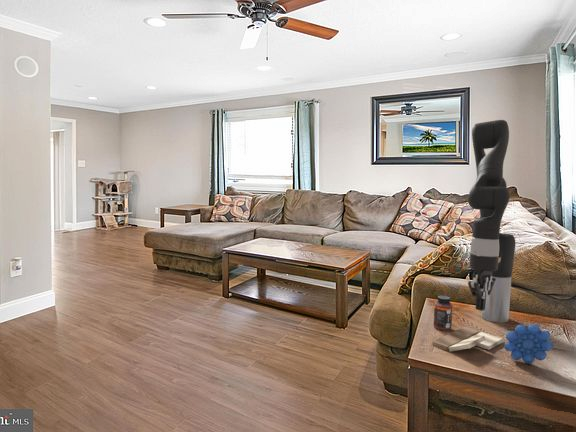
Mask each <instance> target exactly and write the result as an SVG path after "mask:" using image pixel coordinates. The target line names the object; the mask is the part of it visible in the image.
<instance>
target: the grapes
mask: <svg viewBox="0 0 576 432" xmlns="http://www.w3.org/2000/svg"><path fill="white" fill-rule="evenodd" d="M551 336H552V335H551V333H550V332H549V331H548V330H541V327H540V326H539V324H536V323H535V324H534V323H533V324H529V325H528V327H527V326H526V325H525V324H518V325H516V326H515V328H514V331H509V332H508V331H507V333H506V335H505V339H506V340H507V342H505V344H504V346H503V347H504V349H505V350H506V352H510V358H511V359H512V360H514V361H520V360H522V361H523V363H525V364H527V365H528V364H533V363H534V362H535V359H536V360H537V361H543V360H544V361H545V359H546V358H547V357H548V354H547V352H551V351H552V350H553V348H554V344H553V343H552V341H549V339H550V338H551Z"/></svg>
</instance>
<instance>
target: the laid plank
mask: <svg viewBox="0 0 576 432" xmlns="http://www.w3.org/2000/svg"><path fill="white" fill-rule="evenodd" d="M478 333H480V331H479V330H478V329H474V328H472V327H471V328H470V327H468V326H463V327H460V328H458V329H456V330H454V331H452V332H450V333H447V334H446V335H443V336H441V337H439V338H437V339H434V340H433V341H432V346H434V347H436V348H439V349H442V350H445V351H447V352H450V351H449V349H448V348H449V347H451V346H453V345H455V344H456V343H458V342H460V341H462V340H465V339H468V338H470V337H472V336H474V335H476V334H478Z"/></svg>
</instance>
